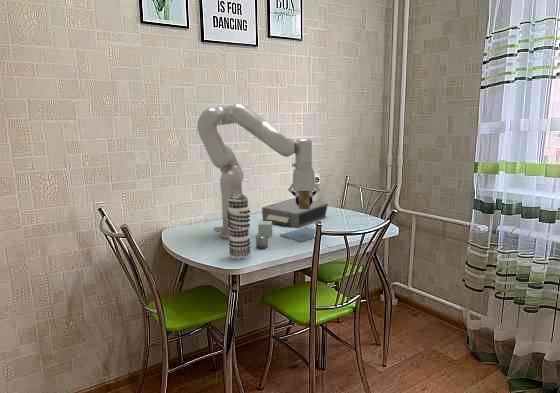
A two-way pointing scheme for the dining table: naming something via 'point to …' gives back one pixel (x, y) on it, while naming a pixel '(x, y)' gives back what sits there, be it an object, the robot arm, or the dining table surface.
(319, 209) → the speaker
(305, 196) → the walnut block
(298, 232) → the mat
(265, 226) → the sage cube
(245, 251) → the decorative candle
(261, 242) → the grey cylinder
